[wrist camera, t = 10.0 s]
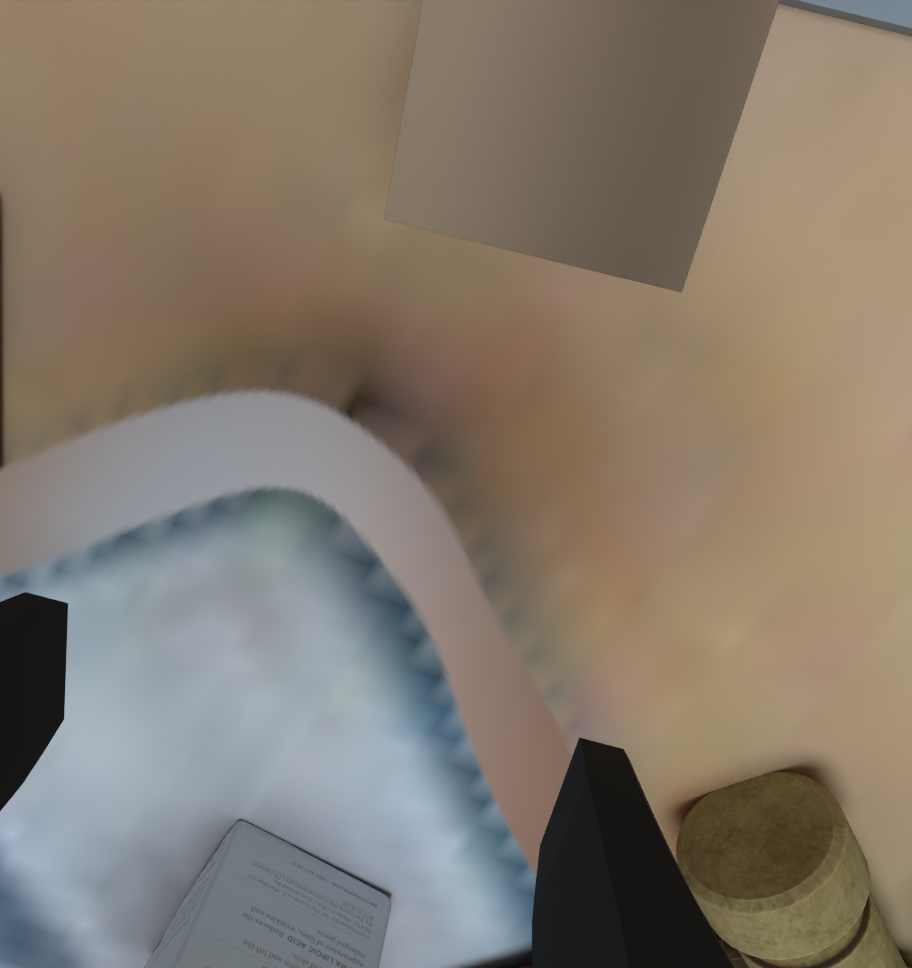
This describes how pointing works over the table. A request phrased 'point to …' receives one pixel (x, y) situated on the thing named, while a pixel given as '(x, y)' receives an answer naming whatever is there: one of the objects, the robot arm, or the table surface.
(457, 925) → the table surface
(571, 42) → the walnut bar
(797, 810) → the gavel
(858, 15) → the fulcrum
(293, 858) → the skincare box
